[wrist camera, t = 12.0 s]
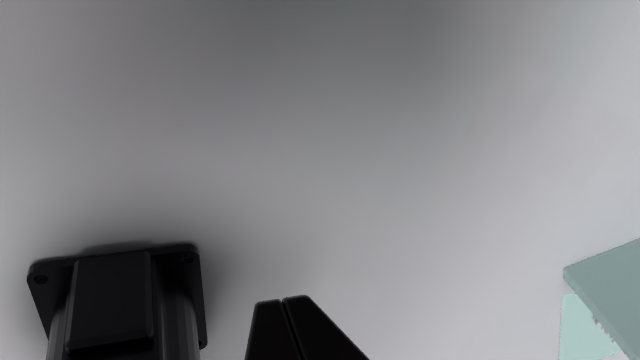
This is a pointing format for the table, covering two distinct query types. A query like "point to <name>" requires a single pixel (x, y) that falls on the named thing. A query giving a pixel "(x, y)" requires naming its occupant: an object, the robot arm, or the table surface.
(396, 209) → the table surface
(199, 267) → the robot arm
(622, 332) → the right angle wall
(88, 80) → the table surface
